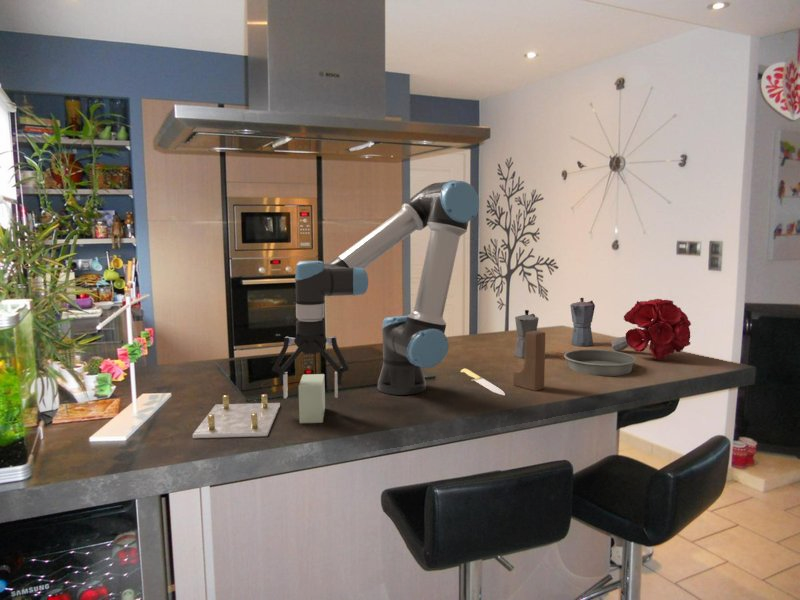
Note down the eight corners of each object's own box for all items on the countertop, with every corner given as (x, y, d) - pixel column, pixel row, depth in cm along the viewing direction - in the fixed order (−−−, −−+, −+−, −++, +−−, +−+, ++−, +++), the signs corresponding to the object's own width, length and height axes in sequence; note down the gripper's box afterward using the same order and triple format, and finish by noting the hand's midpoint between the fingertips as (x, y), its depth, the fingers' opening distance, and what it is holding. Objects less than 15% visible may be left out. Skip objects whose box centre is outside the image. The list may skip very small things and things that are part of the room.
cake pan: (594, 357, 230) (594, 346, 229) (651, 371, 209) (652, 358, 208) (548, 366, 217) (549, 354, 216) (604, 381, 196) (605, 367, 195)
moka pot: (562, 345, 251) (563, 298, 249) (581, 340, 262) (583, 294, 259) (582, 348, 244) (584, 300, 242) (601, 343, 255) (603, 296, 252)
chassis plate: (279, 406, 171) (279, 390, 170) (267, 436, 147) (266, 418, 146) (215, 407, 170) (215, 392, 169) (192, 438, 146) (191, 420, 145)
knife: (495, 396, 179) (509, 392, 180) (454, 369, 210) (466, 366, 211) (495, 400, 179) (509, 396, 180) (455, 373, 210) (467, 370, 211)
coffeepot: (531, 360, 224) (533, 313, 222) (508, 357, 229) (509, 311, 227) (544, 352, 237) (546, 308, 235) (522, 350, 242) (523, 306, 240)
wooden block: (512, 385, 191) (513, 329, 188) (521, 382, 194) (522, 328, 191) (535, 391, 184) (536, 334, 182) (544, 388, 187) (546, 332, 184)
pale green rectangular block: (325, 408, 169) (324, 374, 167) (322, 422, 157) (321, 385, 155) (303, 409, 168) (302, 374, 167) (299, 423, 156) (298, 386, 155)
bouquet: (612, 375, 228) (684, 347, 207) (588, 318, 235) (656, 285, 214) (639, 369, 242) (710, 343, 222) (616, 316, 249) (682, 285, 229)
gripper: (357, 316, 164) (357, 392, 166) (265, 316, 162) (266, 393, 164) (357, 321, 156) (357, 400, 159) (260, 321, 154) (262, 401, 157)
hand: (311, 396), depth 162 cm, fingers open, 13 cm apart
